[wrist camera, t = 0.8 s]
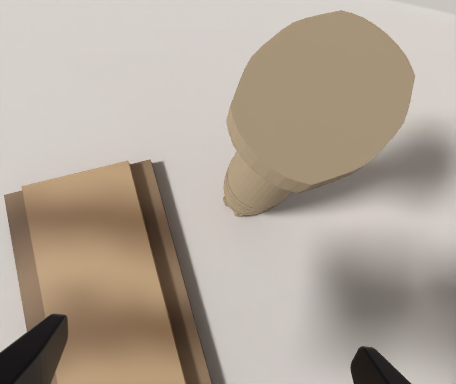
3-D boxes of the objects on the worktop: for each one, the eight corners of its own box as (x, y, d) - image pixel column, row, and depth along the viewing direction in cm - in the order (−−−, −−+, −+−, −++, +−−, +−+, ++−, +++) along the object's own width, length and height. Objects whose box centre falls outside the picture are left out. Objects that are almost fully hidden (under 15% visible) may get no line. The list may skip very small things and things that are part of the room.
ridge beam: (239, 484, 20) (243, 503, 18) (73, 562, 18) (62, 589, 16) (151, 163, 24) (149, 155, 22) (10, 197, 22) (-3, 192, 20)
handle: (292, 191, 25) (441, 83, 10) (236, 249, 23) (320, 217, 9) (249, 149, 25) (334, -13, 11) (191, 203, 23) (198, 98, 9)
